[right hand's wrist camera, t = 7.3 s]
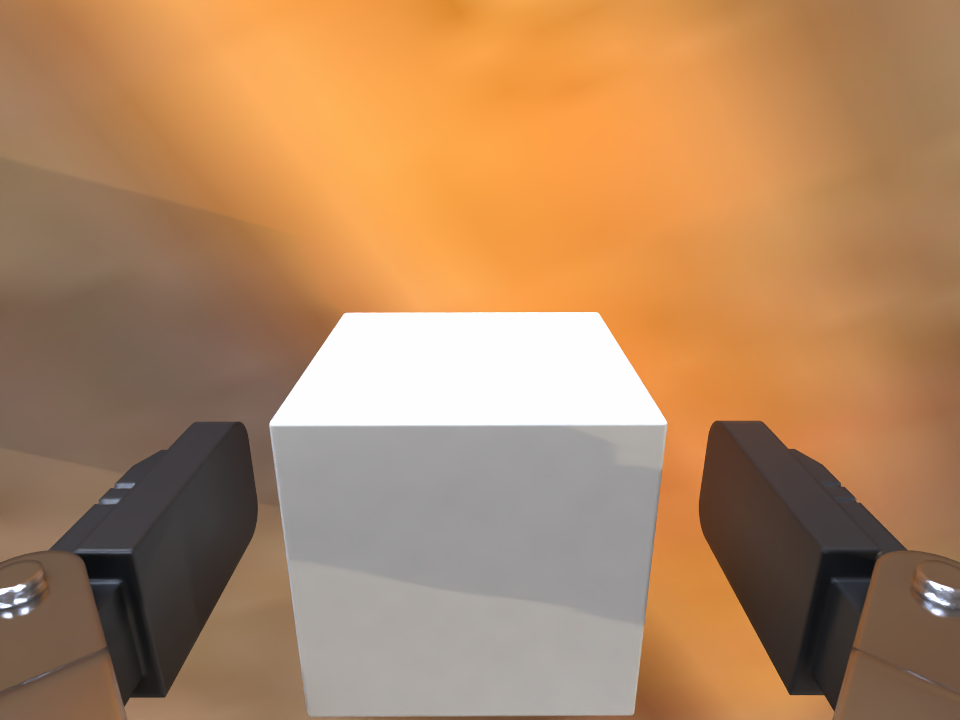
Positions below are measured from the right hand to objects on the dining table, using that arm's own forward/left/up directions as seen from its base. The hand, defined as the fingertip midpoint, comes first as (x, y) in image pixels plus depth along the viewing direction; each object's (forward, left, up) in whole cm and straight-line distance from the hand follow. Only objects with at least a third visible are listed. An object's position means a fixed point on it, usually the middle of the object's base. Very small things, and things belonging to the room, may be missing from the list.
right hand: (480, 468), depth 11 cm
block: (0, 0, -2) cm, 2 cm away
